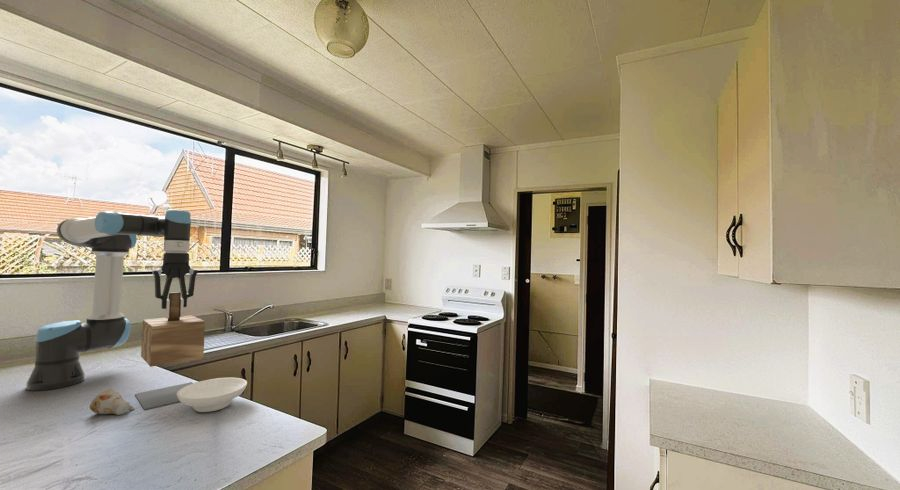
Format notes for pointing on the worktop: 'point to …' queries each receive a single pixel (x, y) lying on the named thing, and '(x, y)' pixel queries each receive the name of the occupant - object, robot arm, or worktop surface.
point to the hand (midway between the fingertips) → (173, 317)
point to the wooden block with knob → (172, 336)
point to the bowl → (211, 393)
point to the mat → (159, 396)
